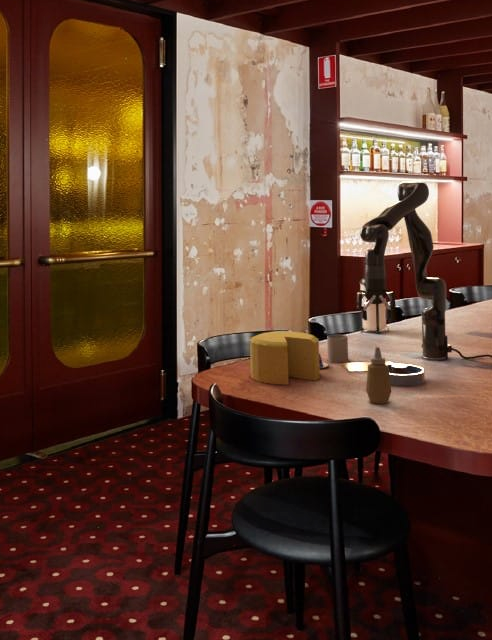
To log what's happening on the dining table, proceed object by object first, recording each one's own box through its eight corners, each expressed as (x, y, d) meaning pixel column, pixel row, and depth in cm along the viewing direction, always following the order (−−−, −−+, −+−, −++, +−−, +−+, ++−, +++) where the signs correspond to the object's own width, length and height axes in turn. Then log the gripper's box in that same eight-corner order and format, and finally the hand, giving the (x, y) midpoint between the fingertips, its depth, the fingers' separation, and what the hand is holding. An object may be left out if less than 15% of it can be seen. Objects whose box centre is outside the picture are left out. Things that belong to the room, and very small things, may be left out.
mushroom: (404, 378, 265) (404, 364, 265) (409, 381, 259) (408, 367, 259) (390, 378, 265) (389, 364, 265) (394, 382, 259) (393, 367, 259)
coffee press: (395, 333, 355) (393, 272, 355) (362, 334, 355) (360, 273, 355) (385, 327, 372) (384, 269, 372) (354, 328, 372) (353, 270, 372)
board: (392, 364, 290) (392, 361, 290) (402, 372, 276) (402, 369, 276) (342, 365, 290) (342, 362, 290) (350, 373, 276) (350, 371, 276)
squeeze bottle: (363, 399, 241) (361, 345, 241) (386, 397, 241) (385, 344, 242) (371, 405, 233) (369, 350, 233) (395, 404, 233) (393, 348, 233)
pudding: (292, 365, 292) (292, 352, 292) (317, 362, 297) (317, 349, 297) (308, 371, 281) (308, 358, 281) (334, 368, 286) (333, 354, 286)
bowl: (416, 375, 270) (415, 363, 271) (431, 387, 253) (430, 374, 253) (370, 376, 271) (369, 364, 271) (382, 388, 253) (381, 375, 253)
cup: (348, 362, 294) (347, 338, 294) (327, 362, 296) (327, 338, 296) (348, 358, 302) (347, 334, 302) (328, 358, 304) (327, 334, 304)
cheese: (312, 386, 258) (311, 344, 258) (242, 382, 267) (241, 341, 267) (325, 370, 283) (324, 331, 283) (260, 366, 292) (259, 329, 292)
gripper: (359, 278, 268) (360, 322, 267) (397, 277, 269) (398, 320, 268) (353, 276, 275) (354, 319, 275) (390, 275, 276) (391, 317, 276)
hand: (376, 319), depth 272 cm, fingers open, 8 cm apart
